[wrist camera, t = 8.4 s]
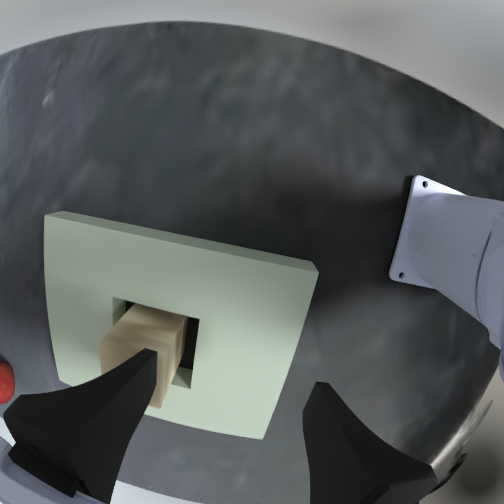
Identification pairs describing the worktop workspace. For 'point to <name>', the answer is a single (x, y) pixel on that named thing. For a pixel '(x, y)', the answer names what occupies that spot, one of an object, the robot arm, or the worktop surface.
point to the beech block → (146, 343)
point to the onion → (6, 383)
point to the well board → (180, 302)
